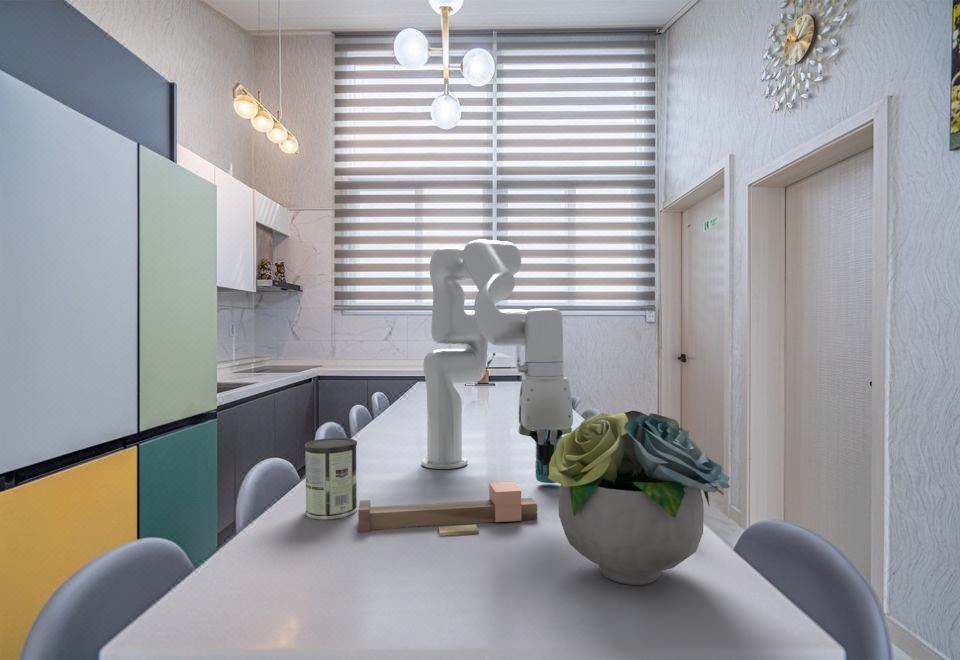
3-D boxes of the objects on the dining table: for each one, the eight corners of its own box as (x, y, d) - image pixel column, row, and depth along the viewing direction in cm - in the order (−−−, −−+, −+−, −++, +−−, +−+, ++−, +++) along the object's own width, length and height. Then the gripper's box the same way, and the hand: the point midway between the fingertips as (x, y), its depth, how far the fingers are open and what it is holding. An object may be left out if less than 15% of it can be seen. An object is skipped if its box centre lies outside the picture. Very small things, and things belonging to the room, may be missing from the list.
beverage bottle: (562, 482, 135) (562, 399, 135) (563, 490, 128) (563, 403, 128) (535, 482, 136) (535, 399, 136) (535, 489, 129) (534, 403, 129)
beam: (360, 513, 113) (360, 493, 113) (525, 504, 118) (525, 485, 118) (357, 541, 98) (357, 518, 98) (545, 529, 103) (545, 507, 103)
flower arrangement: (659, 537, 99) (659, 399, 99) (758, 604, 75) (757, 421, 75) (525, 549, 94) (525, 403, 94) (584, 625, 70) (583, 429, 70)
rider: (489, 511, 113) (489, 482, 113) (513, 509, 114) (513, 481, 114) (495, 522, 106) (495, 492, 106) (521, 520, 107) (521, 490, 107)
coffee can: (328, 501, 121) (327, 436, 121) (367, 507, 117) (367, 439, 117) (293, 515, 112) (293, 444, 112) (334, 523, 107) (334, 449, 107)
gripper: (511, 372, 106) (513, 470, 106) (586, 371, 109) (588, 466, 108) (503, 370, 114) (504, 461, 113) (574, 369, 116) (575, 458, 116)
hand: (545, 463), depth 111 cm, fingers closed
